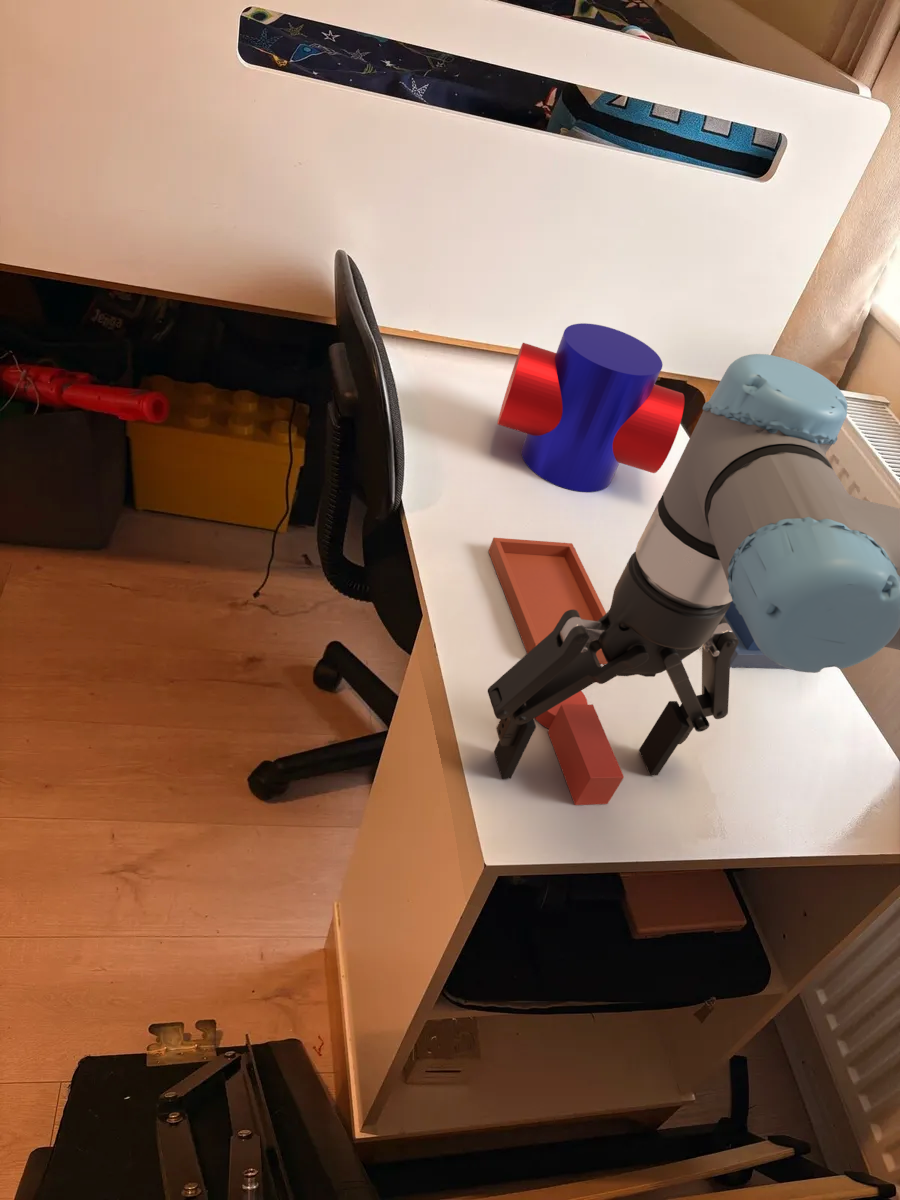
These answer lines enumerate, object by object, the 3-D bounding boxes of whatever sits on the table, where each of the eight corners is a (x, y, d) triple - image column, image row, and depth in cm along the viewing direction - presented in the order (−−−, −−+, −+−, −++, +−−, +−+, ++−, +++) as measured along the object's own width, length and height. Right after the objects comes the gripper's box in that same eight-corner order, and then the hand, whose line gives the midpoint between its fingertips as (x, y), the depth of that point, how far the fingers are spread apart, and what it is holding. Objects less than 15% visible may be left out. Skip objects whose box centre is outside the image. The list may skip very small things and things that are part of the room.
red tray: (617, 664, 87) (624, 650, 85) (530, 662, 84) (536, 647, 82) (566, 556, 98) (572, 543, 97) (488, 551, 95) (493, 537, 94)
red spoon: (617, 804, 73) (634, 777, 71) (564, 805, 72) (580, 778, 70) (571, 691, 82) (584, 664, 80) (523, 690, 80) (535, 662, 78)
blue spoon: (778, 651, 94) (795, 626, 92) (740, 649, 93) (756, 624, 91) (728, 574, 103) (742, 550, 101) (692, 571, 102) (706, 547, 99)
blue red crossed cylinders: (485, 463, 108) (526, 342, 98) (496, 418, 118) (534, 303, 108) (642, 512, 109) (698, 397, 99) (640, 463, 119) (691, 353, 109)
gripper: (804, 550, 69) (687, 728, 82) (502, 527, 60) (426, 729, 74) (856, 619, 63) (721, 797, 77) (532, 603, 55) (445, 806, 69)
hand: (577, 764), depth 75 cm, fingers open, 13 cm apart
